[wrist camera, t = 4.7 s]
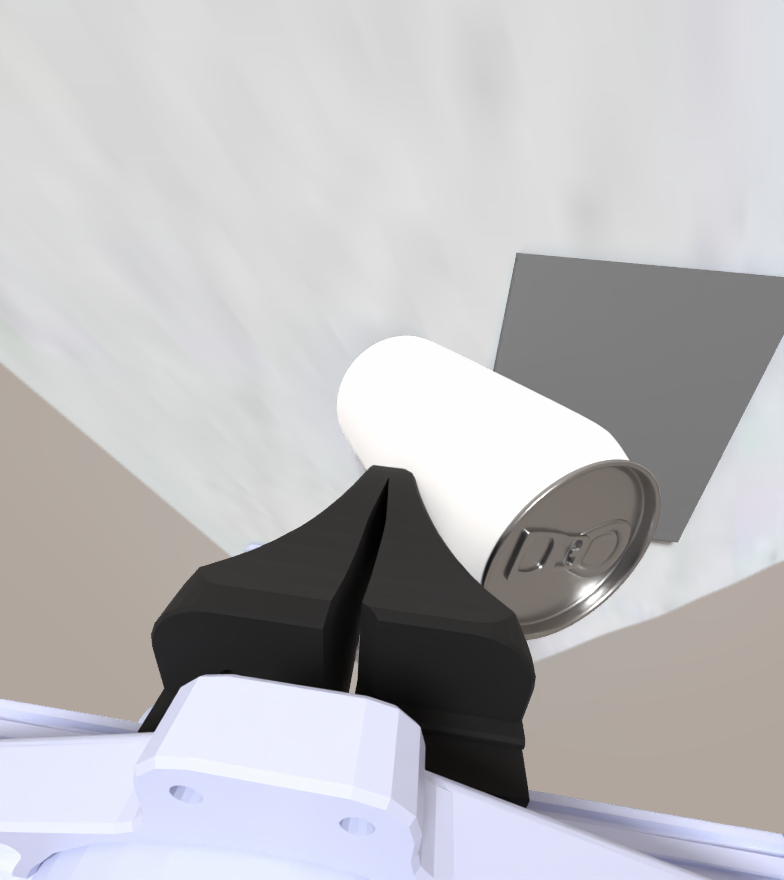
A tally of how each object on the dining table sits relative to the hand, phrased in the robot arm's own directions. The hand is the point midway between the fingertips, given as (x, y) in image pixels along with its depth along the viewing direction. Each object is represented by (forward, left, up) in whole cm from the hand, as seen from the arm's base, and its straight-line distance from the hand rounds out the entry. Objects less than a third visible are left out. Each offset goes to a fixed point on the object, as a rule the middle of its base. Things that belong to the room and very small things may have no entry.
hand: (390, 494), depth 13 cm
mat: (0, -10, -10) cm, 14 cm away
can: (0, +1, -9) cm, 9 cm away
